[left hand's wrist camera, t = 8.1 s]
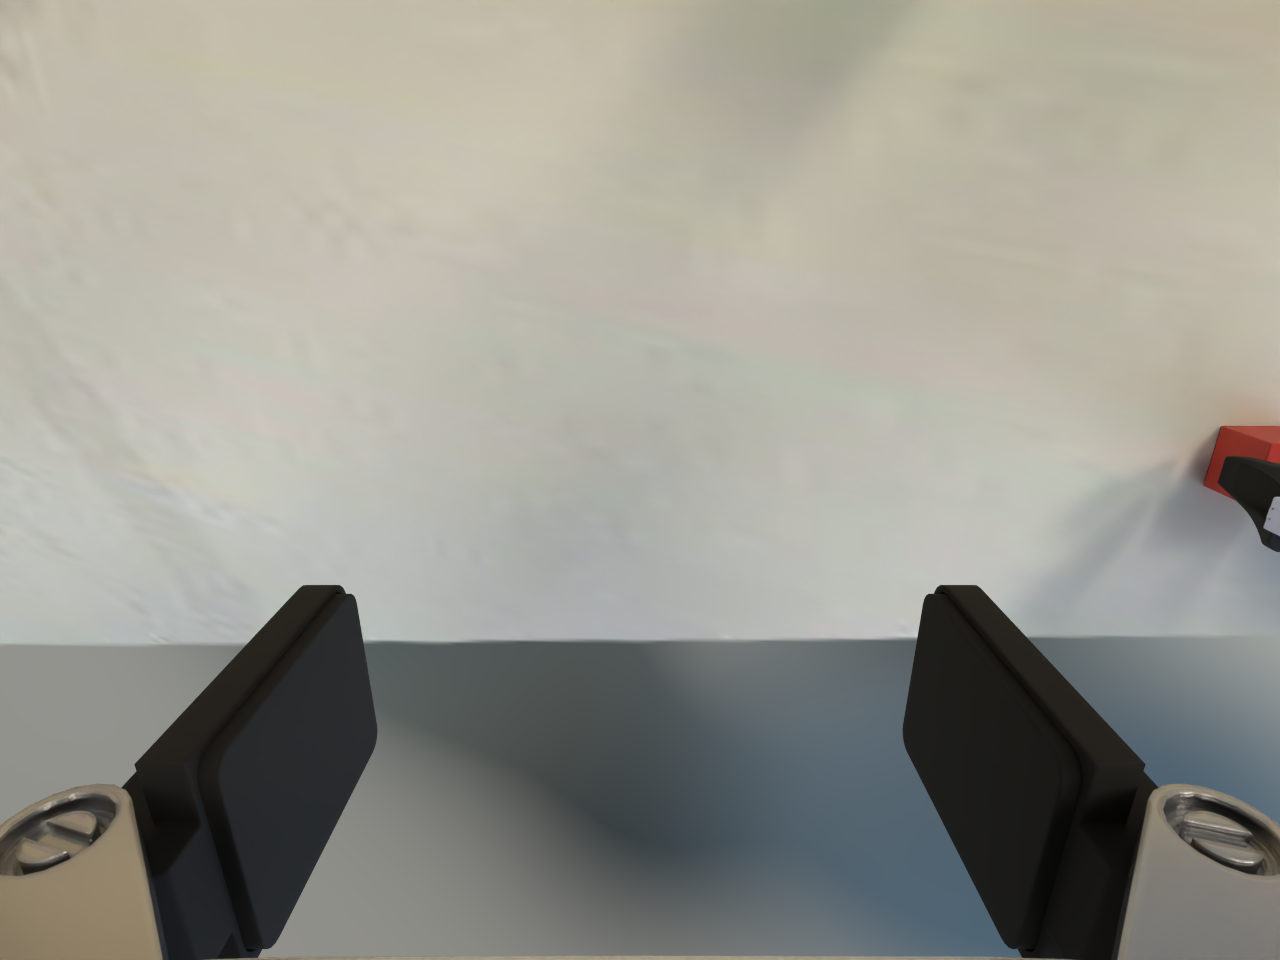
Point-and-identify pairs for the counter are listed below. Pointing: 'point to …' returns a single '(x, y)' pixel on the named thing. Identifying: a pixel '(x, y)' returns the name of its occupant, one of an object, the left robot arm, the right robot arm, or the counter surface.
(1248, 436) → the cube
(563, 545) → the counter surface
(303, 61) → the counter surface
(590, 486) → the counter surface
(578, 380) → the counter surface
